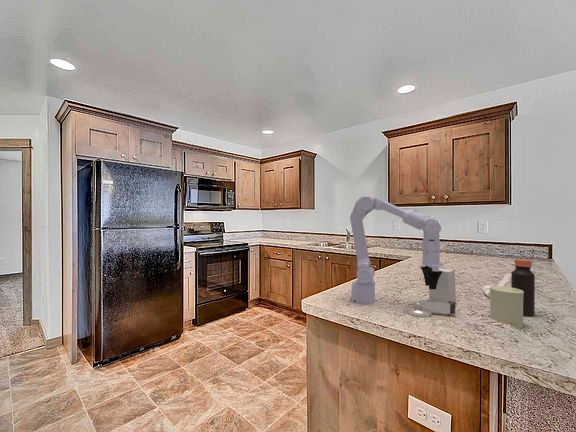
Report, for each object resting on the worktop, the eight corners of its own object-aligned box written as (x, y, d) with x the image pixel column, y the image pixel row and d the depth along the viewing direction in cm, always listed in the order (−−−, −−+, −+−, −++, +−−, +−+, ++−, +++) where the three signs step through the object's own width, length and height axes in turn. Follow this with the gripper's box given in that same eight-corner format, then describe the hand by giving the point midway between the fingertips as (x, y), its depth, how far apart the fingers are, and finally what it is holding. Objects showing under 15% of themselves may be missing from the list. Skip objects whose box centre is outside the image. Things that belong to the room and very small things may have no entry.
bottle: (512, 309, 112) (512, 258, 112) (535, 313, 107) (535, 260, 107) (509, 313, 107) (510, 260, 107) (533, 318, 102) (533, 262, 102)
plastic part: (482, 294, 134) (482, 269, 134) (507, 296, 131) (506, 270, 131) (488, 298, 127) (488, 272, 127) (514, 300, 124) (514, 274, 124)
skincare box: (456, 307, 114) (456, 270, 114) (448, 310, 110) (448, 271, 110) (435, 302, 120) (436, 266, 121) (427, 304, 117) (427, 268, 117)
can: (526, 330, 91) (526, 292, 91) (490, 324, 95) (490, 288, 96) (521, 321, 98) (521, 286, 98) (488, 316, 103) (488, 283, 103)
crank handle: (406, 315, 99) (406, 302, 99) (402, 307, 108) (402, 295, 108) (459, 320, 95) (459, 306, 95) (451, 311, 104) (451, 298, 104)
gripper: (448, 253, 99) (448, 292, 99) (437, 249, 113) (437, 283, 113) (426, 253, 101) (426, 291, 101) (418, 248, 115) (417, 282, 115)
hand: (430, 287), depth 107 cm, fingers open, 5 cm apart
